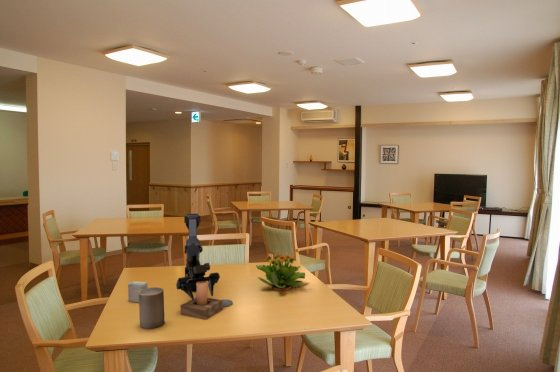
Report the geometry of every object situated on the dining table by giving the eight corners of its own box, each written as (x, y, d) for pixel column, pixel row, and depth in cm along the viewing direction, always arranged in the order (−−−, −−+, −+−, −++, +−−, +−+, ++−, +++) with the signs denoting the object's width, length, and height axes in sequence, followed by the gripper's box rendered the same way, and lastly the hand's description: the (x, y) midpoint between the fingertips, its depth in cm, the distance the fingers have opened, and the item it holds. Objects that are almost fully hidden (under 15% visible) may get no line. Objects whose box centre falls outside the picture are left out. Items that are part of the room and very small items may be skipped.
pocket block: (198, 304, 184) (198, 296, 183) (222, 309, 178) (222, 300, 178) (180, 314, 172) (180, 305, 172) (205, 319, 166) (205, 310, 166)
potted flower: (298, 298, 192) (298, 262, 191) (251, 294, 197) (251, 260, 196) (305, 282, 217) (306, 251, 216) (263, 280, 222) (263, 249, 221)
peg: (200, 309, 178) (200, 280, 177) (209, 310, 176) (208, 281, 175) (194, 312, 174) (194, 283, 173) (203, 314, 172) (202, 284, 171)
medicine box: (148, 300, 190) (148, 282, 189) (142, 303, 186) (142, 285, 185) (134, 298, 192) (133, 280, 191) (128, 301, 188) (127, 283, 187)
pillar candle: (167, 319, 167) (166, 283, 166) (161, 328, 157) (159, 291, 156) (143, 319, 167) (142, 284, 166) (136, 329, 157) (134, 292, 156)
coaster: (221, 300, 190) (221, 298, 190) (235, 302, 186) (235, 300, 186) (211, 305, 183) (211, 303, 182) (226, 308, 179) (226, 306, 179)
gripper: (177, 259, 172) (185, 292, 164) (218, 254, 182) (227, 285, 173) (173, 273, 180) (180, 304, 171) (212, 267, 189) (221, 297, 180)
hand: (202, 297), depth 173 cm, fingers open, 8 cm apart
